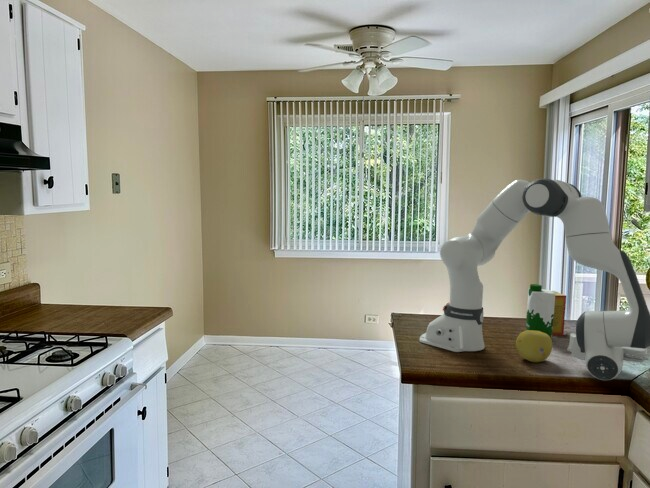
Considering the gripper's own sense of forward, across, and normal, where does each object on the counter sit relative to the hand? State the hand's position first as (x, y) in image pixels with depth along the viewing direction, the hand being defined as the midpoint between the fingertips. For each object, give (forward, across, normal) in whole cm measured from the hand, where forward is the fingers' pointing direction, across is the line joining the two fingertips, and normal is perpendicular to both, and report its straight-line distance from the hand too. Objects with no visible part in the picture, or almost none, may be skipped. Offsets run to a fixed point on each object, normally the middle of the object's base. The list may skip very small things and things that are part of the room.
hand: (607, 340), depth 143 cm
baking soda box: (+30, +21, +8) cm, 37 cm away
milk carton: (+19, +23, +8) cm, 31 cm away
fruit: (-10, +20, +8) cm, 23 cm away
